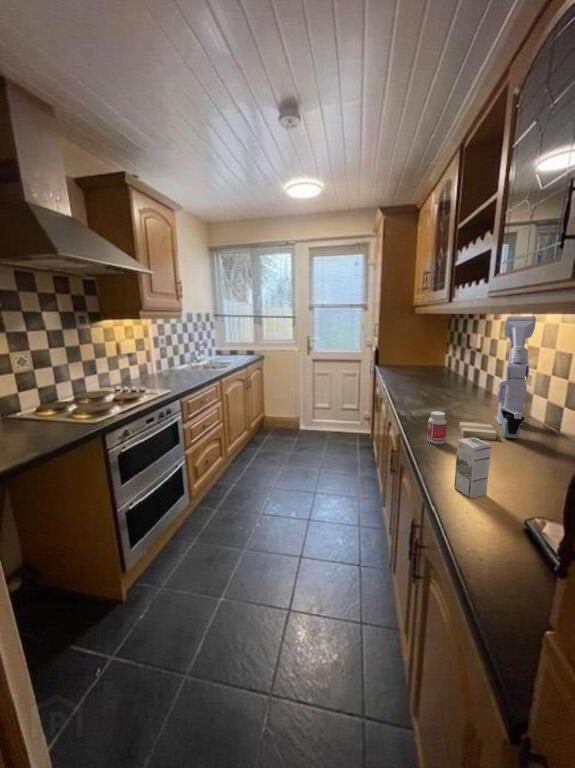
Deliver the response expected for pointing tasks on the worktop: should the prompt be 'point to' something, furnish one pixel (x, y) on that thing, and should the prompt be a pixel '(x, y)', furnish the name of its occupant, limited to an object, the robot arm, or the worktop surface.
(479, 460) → the syrup box
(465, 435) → the birch base
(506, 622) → the worktop surface
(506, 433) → the blue block
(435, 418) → the pill bottle
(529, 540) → the worktop surface
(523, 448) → the worktop surface
